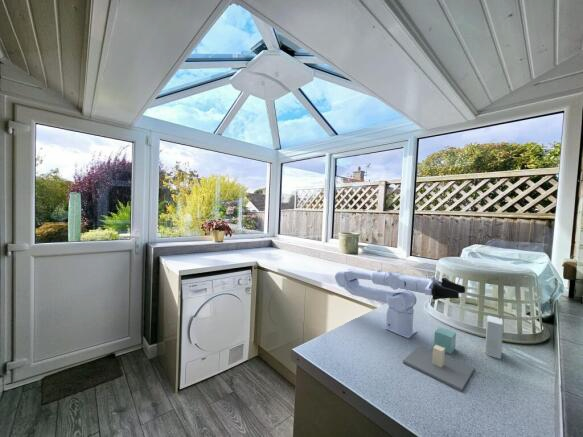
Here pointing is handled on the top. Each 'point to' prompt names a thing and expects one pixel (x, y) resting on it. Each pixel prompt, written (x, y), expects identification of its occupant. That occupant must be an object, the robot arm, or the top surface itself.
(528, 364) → the top surface
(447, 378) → the post board
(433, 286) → the robot arm
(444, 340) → the mint green cube
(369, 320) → the top surface
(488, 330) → the skincare box
